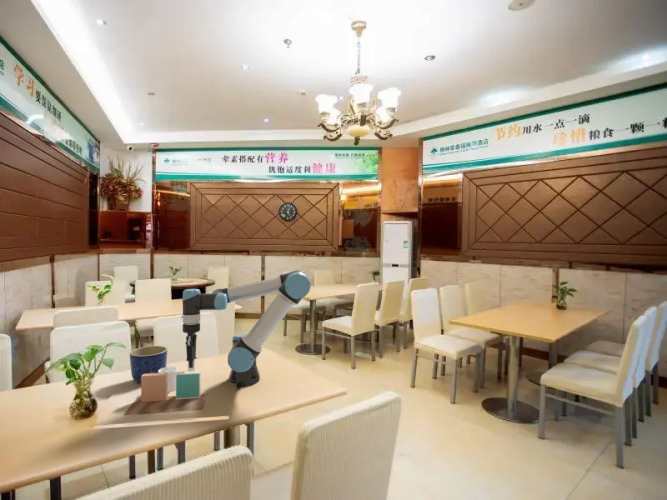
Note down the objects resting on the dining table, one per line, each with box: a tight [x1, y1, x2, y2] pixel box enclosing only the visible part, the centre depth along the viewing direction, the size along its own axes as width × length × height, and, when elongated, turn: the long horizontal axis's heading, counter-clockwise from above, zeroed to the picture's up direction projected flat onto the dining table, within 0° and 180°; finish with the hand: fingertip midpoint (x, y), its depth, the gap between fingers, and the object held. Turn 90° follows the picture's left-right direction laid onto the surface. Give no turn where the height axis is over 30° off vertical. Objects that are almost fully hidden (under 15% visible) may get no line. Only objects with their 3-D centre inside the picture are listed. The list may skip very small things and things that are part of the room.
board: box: [123, 393, 209, 416], centre depth 159 cm, size 30×16×1 cm, turn 100°
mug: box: [158, 366, 179, 393], centre depth 173 cm, size 12×8×10 cm
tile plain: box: [140, 373, 169, 402], centre depth 163 cm, size 10×3×11 cm, turn 100°
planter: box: [129, 345, 168, 384], centre depth 187 cm, size 17×17×15 cm
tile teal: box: [175, 370, 202, 399], centre depth 165 cm, size 10×3×11 cm, turn 100°
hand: (191, 373), depth 172 cm, fingers closed
